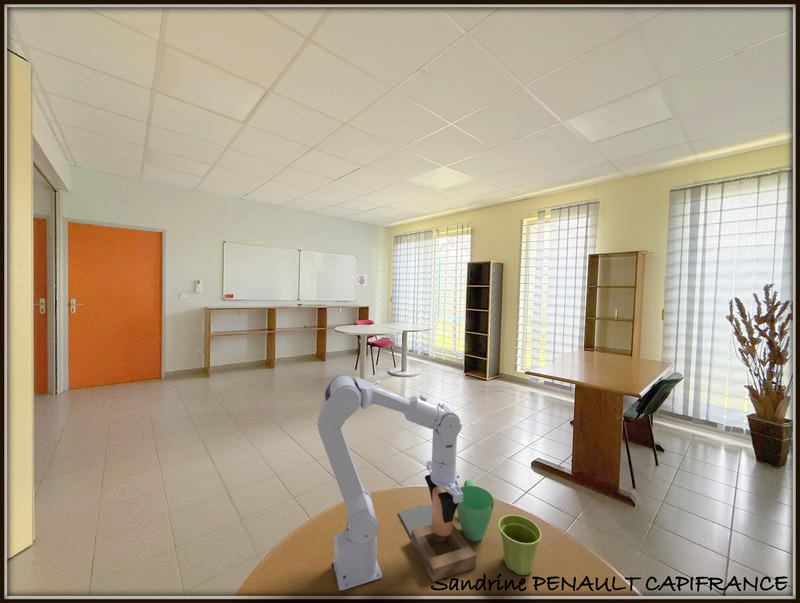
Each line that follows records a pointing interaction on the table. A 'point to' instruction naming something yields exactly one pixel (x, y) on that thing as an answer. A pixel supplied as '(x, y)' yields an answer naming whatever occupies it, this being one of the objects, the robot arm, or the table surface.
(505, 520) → the plant pot
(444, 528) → the peach rounded cylinder
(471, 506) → the mug
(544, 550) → the table surface
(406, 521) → the mat
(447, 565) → the holder
